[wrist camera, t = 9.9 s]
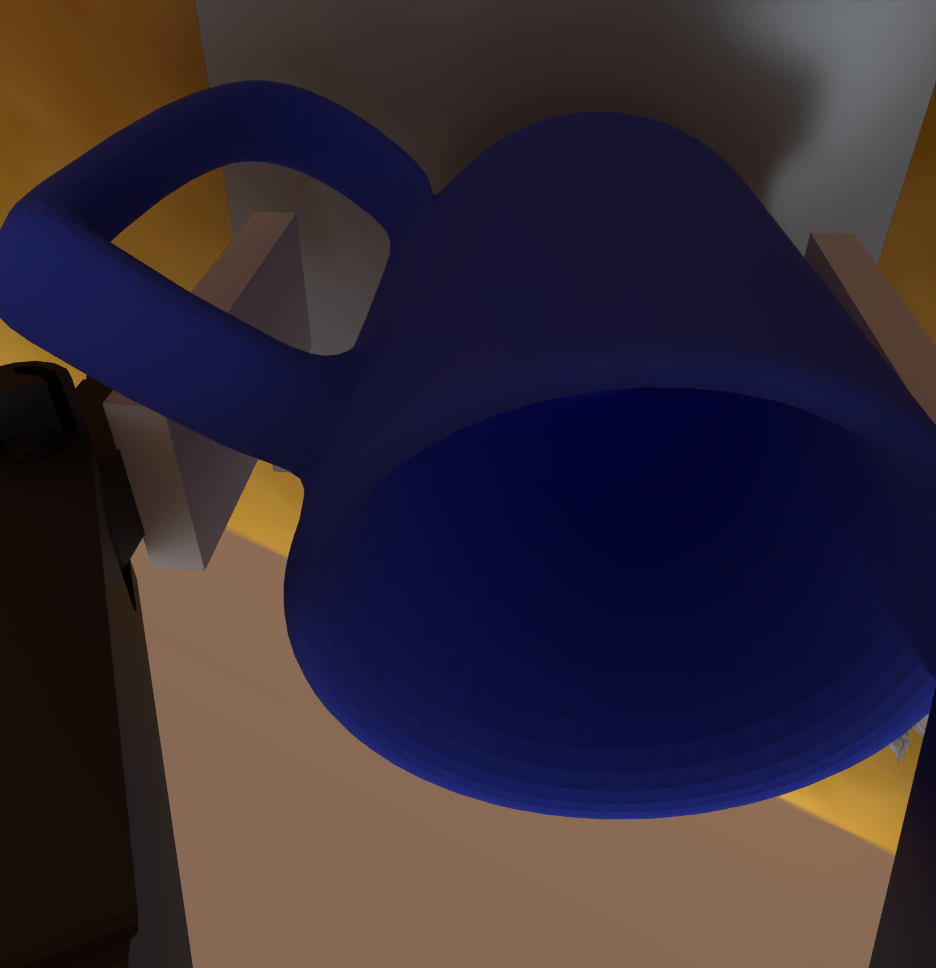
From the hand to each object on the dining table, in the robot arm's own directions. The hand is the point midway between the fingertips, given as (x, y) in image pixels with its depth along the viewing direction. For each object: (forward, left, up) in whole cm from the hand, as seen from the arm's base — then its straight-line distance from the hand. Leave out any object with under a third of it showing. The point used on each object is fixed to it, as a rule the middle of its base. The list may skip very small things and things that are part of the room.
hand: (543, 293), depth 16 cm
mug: (-1, -1, -2) cm, 2 cm away
